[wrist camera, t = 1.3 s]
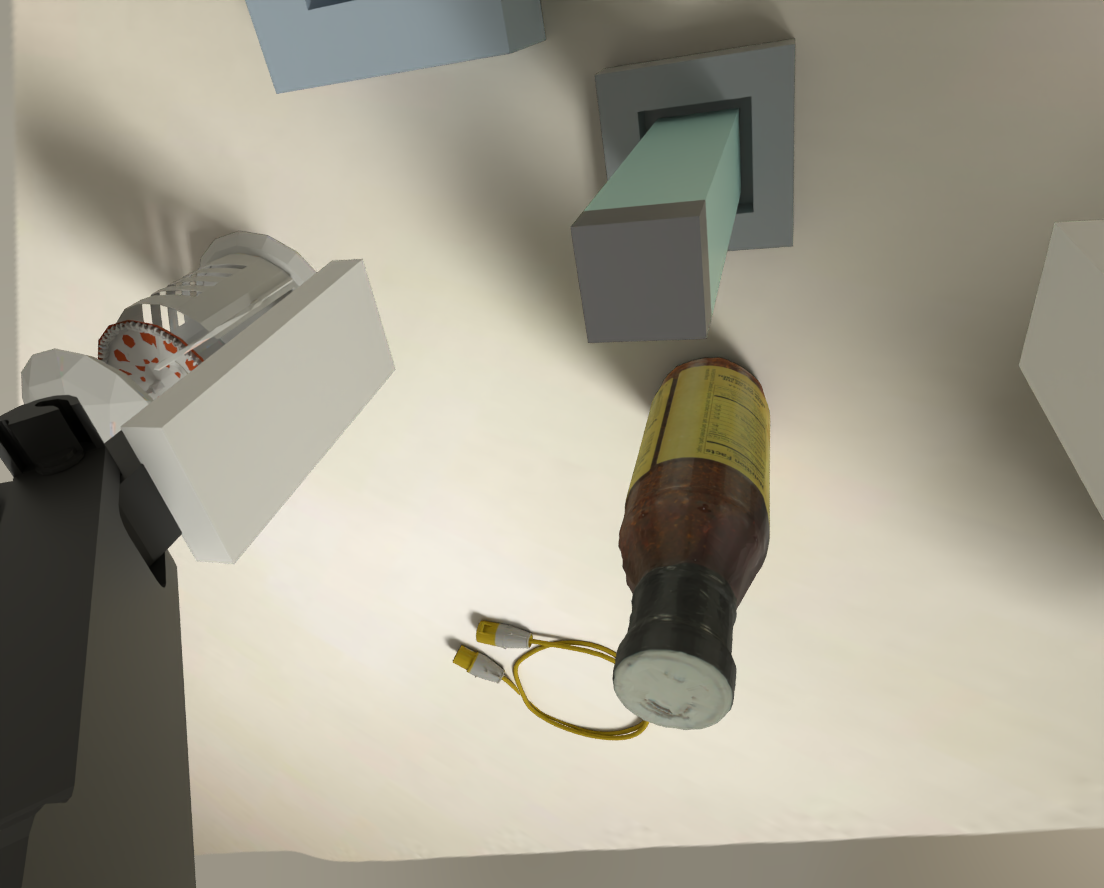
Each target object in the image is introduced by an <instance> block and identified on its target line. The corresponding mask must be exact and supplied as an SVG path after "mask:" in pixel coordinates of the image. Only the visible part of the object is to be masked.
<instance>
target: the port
mask: <svg viewBox="0 0 1104 888" xmlns="http://www.w3.org/2000/svg"><path fill="white" fill-rule="evenodd" d="M245 1H246V4H247V7H248V10H249V13H250V16H251V19H252V22H253V25H254V28H255V31H256V34H257V37H258V40H259V43H260V46H261V49H262V52H263V55H264V58H265V61H266V64H267V67H268V70H269V73H270V76H271V79H272V82H273V85H274V88H275V91H276V94H279V93H284V92H290V91H296V90H302V89H308V88H313V87H319V86H325V85H331V84H337V83H342V82H348V81H354V80H360V79H366V78H371V77H377V76H383V75H389V74H395V73H400V72H406V71H412V70H418V69H424V68H429V67H435V66H441V65H447V64H452V63H458V62H464V61H470V60H476V59H481V58H487V57H493V56H499V55H505V54H510V53H513V52H515V51H518V50H521V49H523V48H526V47H528V46H531V45H534V44H536V43H539V42H541V41H544V40H546V37H545V30H544V24H543V17H542V11H541V4H540V0H245Z"/></svg>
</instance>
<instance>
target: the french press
mask: <svg viewBox="0 0 1104 888" xmlns="http://www.w3.org/2000/svg"><path fill="white" fill-rule="evenodd" d="M195 273H197V277H191V275H192V274H195ZM316 273H317V272H316V271H315V270H314V269H313V268H312V267H311V266H310V265H309V264H308V263H307V262H306V261H305V260H304V259H303V258H302V257H301V256H300V254H299V253H298V252H296V251H294V250H293V249H291V248H289V247H287V246H286V245H284V244H282V243H280V242H279V241H277V240H275V239H273V238H271V237H270V236H268V235H261V234H255V233H249V232H242V231H237V232H234V233H232V234H229V235H226V236H223V237H220V238H217V239H215V240H214V241H213V243H212V244H211V245H210V247H209V248H208V249H207V251H206V252H205V253H204V254H203V256H202V257H201V261H200V268H199V269H198V270H197V271H194V272H191V273H189V274H188V275H186V276H184V277H183V279H180V280H177V281H175V282H173V283H171V284H170V285H168V286H167V287H166V288H164V289H161V290H158V291H157V292H155V293H153V294H152V295H151V297H148V298H145V299H142V300H140V301H138V302H136V303H134V304H133V305H131V306H129V307H128V308H126V309H124V311H123V313H122V314H121V316H120V318H119V319H118V321H117V323H116V324H112V325H109V326H108V327H107V329H106V330H105V332H104V333H103V335H102V336H101V337H100V339H99V340H98V359H97V358H95V357H92V356H88V355H83V354H79V353H74V352H69V351H64V350H59V349H51V350H48V351H44V352H41V353H37V354H34V355H32V356H31V358H30V359H29V361H28V363H27V364H26V366H25V367H24V369H23V370H22V372H21V379H22V399H23V402H24V404H27V403H29V402H32V401H35V400H38V399H42V398H46V397H51V396H56V395H71V396H75V397H77V398H78V400H79V401H80V403H81V405H82V406H83V408H84V410H85V411H86V413H87V415H88V416H89V418H90V420H91V421H92V423H93V425H94V427H95V428H96V430H97V432H98V433H99V435H100V437H101V438H102V440H103V442H104V443H105V442H107V441H108V440H109V439H110V438H112V437H113V436H114V435H115V434H117V433H118V432H119V431H121V428H120V427H121V426H122V425H123V424H124V423H126V422H127V421H128V420H130V419H131V418H132V417H133V416H135V415H136V414H137V413H138V412H140V411H141V410H142V409H144V408H145V407H146V406H147V405H149V404H150V403H151V402H152V401H154V400H155V399H156V398H158V397H159V396H160V395H161V394H163V393H164V392H165V391H166V390H168V389H169V388H170V387H172V386H173V385H174V384H175V383H177V382H178V381H179V380H181V379H182V378H183V377H184V376H186V375H187V374H188V373H189V372H191V371H192V370H193V369H195V368H196V367H197V366H198V365H200V364H201V363H202V362H203V361H205V360H206V359H207V358H209V357H210V356H211V355H212V354H214V353H215V352H216V351H218V350H219V349H220V348H221V347H223V346H224V345H225V344H226V343H228V342H229V341H230V340H232V339H233V338H234V337H235V336H237V335H238V334H239V333H240V332H242V331H243V330H244V329H246V328H247V327H248V326H249V325H251V324H252V323H253V322H254V321H256V320H257V319H258V318H260V317H261V316H262V315H263V314H265V313H266V312H267V311H269V310H270V309H271V308H272V307H274V306H275V305H276V304H277V303H279V302H280V301H281V300H283V299H284V298H285V297H286V296H288V295H289V294H290V293H291V292H293V291H294V290H295V289H297V288H298V287H299V286H300V285H302V284H303V283H304V282H305V281H307V280H308V279H309V278H311V277H312V276H313V275H314V274H316ZM190 281H196V285H190ZM178 282H182V286H176V283H178ZM161 291H166V295H160V292H161ZM175 291H182V295H175ZM190 291H196V292H197V296H190ZM142 304H150V305H151V314H152V322H153V324H150V323H145V322H144V320H143V312H142ZM160 305H163V306H166V307H168V316H169V325H170V332H169V331H167V330H166V329H164V328H162V320H161V311H160ZM177 311H179V312H181V313H183V314H184V319H185V323H184V324H183V325H181V326H178V318H177Z"/></svg>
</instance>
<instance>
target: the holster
mask: <svg viewBox="0 0 1104 888" xmlns="http://www.w3.org/2000/svg"><path fill="white" fill-rule="evenodd" d="M595 81H596V89H597V98H598V106H599V114H600V122H601V130H602V139H603V147H604V155H605V163H606V171H607V180H609V179H610V178H611V176H612V175H613V174H614V173H615V171H616V170H617V169H618V168H619V166H620V165H621V164H622V163H623V161H624V160H625V159H626V158H627V156H628V155H629V154H630V153H631V151H632V150H633V149H634V148H635V146H636V145H637V144H638V143H639V141H640V140H641V139H642V138H643V136H644V135H645V134H646V133H647V131H648V130H649V129H650V128H651V127H652V125H653V124H654V123H655V122H656V120H657V119H658V118H665V117H672V116H680V115H687V114H695V113H702V112H710V111H718V110H725V109H733V108H739V123H740V160H741V194H740V199H739V203H738V207H737V211H736V216H735V220H734V224H733V228H732V233H731V237H730V241H729V245H728V250H727V251H735V250H749V249H763V248H777V247H791V246H793V189H794V90H795V39H788V40H782V41H776V42H769V43H763V44H757V45H751V46H744V47H738V48H732V49H725V50H719V51H713V52H706V53H700V54H694V55H687V56H681V57H675V58H668V59H662V60H656V61H650V62H643V63H637V64H631V65H624V66H618V67H612V68H605V69H603V70H602V71H600V72H599V73H597V74H596V75H595Z"/></svg>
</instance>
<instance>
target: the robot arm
mask: <svg viewBox="0 0 1104 888" xmlns="http://www.w3.org/2000/svg"><path fill="white" fill-rule="evenodd" d="M1019 367H1020V369H1021V371H1022V373H1023V375H1024V376H1025V378H1026V380H1027V382H1028V384H1029V386H1030V387H1031V389H1032V391H1033V393H1034V395H1035V397H1036V398H1037V400H1038V402H1039V404H1040V406H1041V407H1042V409H1043V411H1044V413H1045V415H1046V417H1047V418H1048V420H1049V422H1050V424H1051V426H1052V428H1053V429H1054V431H1055V433H1056V435H1057V437H1058V438H1059V440H1060V442H1061V444H1062V446H1063V448H1064V449H1065V451H1066V453H1067V455H1068V457H1069V458H1070V460H1071V462H1072V464H1073V466H1074V468H1075V469H1076V471H1077V473H1078V475H1079V477H1080V479H1081V480H1082V482H1083V484H1084V486H1085V488H1086V489H1087V491H1088V493H1089V495H1090V497H1091V499H1092V500H1093V502H1094V504H1095V506H1096V508H1097V510H1098V511H1099V513H1100V515H1101V517H1102V519H1103V520H1104V219H1103V220H1084V221H1065V222H1055V223H1054V227H1053V231H1052V235H1051V239H1050V243H1049V247H1048V251H1047V255H1046V259H1045V263H1044V267H1043V271H1042V275H1041V279H1040V283H1039V287H1038V291H1037V295H1036V299H1035V303H1034V307H1033V311H1032V315H1031V319H1030V323H1029V327H1028V331H1027V335H1026V339H1025V343H1024V347H1023V351H1022V355H1021V359H1020V363H1019ZM395 370H396V369H395V366H394V362H393V359H392V355H391V352H390V349H389V345H388V342H387V339H386V335H385V332H384V329H383V325H382V322H381V319H380V315H379V312H378V308H377V305H376V302H375V298H374V295H373V292H372V288H371V285H370V282H369V278H368V275H367V272H366V268H365V265H364V261H363V259H354V260H335V261H331V262H330V263H328V264H327V265H326V266H325V267H323V268H322V269H321V270H320V271H318V272H317V273H316V274H314V275H313V276H312V277H311V278H309V279H308V280H307V281H305V282H304V283H303V284H302V285H300V286H299V287H298V288H297V289H295V290H294V291H293V292H291V293H290V294H289V295H288V296H286V297H285V298H284V299H283V300H281V301H280V302H279V303H277V304H276V305H275V306H274V307H272V308H271V309H270V310H269V311H267V312H266V313H265V314H263V315H262V316H261V317H260V318H258V319H257V320H256V321H254V322H253V323H252V324H251V325H249V326H248V327H247V328H246V329H244V330H243V331H242V332H240V333H239V334H238V335H237V336H235V337H234V338H233V339H232V340H230V341H229V342H228V343H226V344H225V345H224V346H223V347H221V348H220V349H219V350H218V351H216V352H215V353H214V354H212V355H211V356H210V357H209V358H207V359H206V360H205V361H203V362H202V363H201V364H200V365H198V366H197V367H196V368H195V369H193V370H192V371H191V372H189V373H188V374H187V375H186V376H184V377H183V378H182V379H181V380H179V381H178V382H177V383H175V384H174V385H173V386H172V387H170V388H169V389H168V390H166V391H165V392H164V393H163V394H161V395H160V396H159V397H158V398H156V399H155V400H154V401H152V402H151V403H150V404H149V405H147V406H146V407H145V408H144V409H142V410H141V411H140V412H138V413H137V414H136V415H135V416H133V417H132V418H131V419H130V420H128V421H127V422H126V423H124V424H123V425H122V426H121V427H120V428H121V431H119V432H118V433H117V434H115V435H114V436H113V437H112V438H110V439H109V440H108V441H107V442H105V443H104V442H103V440H102V438H101V437H100V435H99V433H98V432H97V430H96V428H95V427H94V425H93V423H92V421H91V420H90V418H89V416H88V415H87V413H86V411H85V410H84V408H83V406H82V405H81V403H80V401H79V400H78V398H77V397H75V396H71V395H56V396H51V397H46V398H42V399H38V400H35V401H32V402H29V403H27V404H24V405H21V406H19V407H17V408H15V409H13V410H11V411H9V412H7V413H5V414H3V415H1V416H0V458H1V460H2V461H3V462H4V464H5V465H6V467H7V468H8V469H9V471H10V472H11V474H12V475H13V477H14V478H13V481H11V482H5V483H0V888H196V880H195V863H194V846H193V829H192V813H191V796H190V779H189V762H188V745H187V729H186V712H185V695H184V678H183V662H182V645H181V628H180V611H179V594H178V578H177V566H176V564H175V562H174V560H173V558H172V556H171V555H170V553H169V551H168V550H167V549H168V548H169V547H170V546H171V545H172V544H173V543H174V542H175V541H176V539H177V538H178V537H179V536H180V535H182V537H183V538H184V540H185V542H186V544H187V545H188V547H189V549H190V551H191V552H192V554H193V556H194V558H195V559H196V561H200V562H212V563H224V564H235V563H236V561H237V560H238V559H239V558H240V557H241V555H242V554H243V553H244V552H245V551H246V549H247V548H248V547H249V546H250V545H251V543H252V542H253V541H254V540H255V538H256V537H257V536H258V535H259V534H260V532H261V531H262V530H263V529H264V528H265V526H266V525H267V524H268V523H269V522H270V520H271V519H272V518H273V517H274V516H275V514H276V513H277V512H278V511H279V510H280V508H281V507H282V506H283V505H284V503H285V502H286V501H287V500H288V499H289V497H290V496H291V495H292V494H293V493H294V491H295V490H296V489H297V488H298V487H299V485H300V484H301V483H302V482H303V481H304V479H305V478H306V477H307V476H308V475H309V473H310V472H311V471H312V470H313V469H314V467H315V466H316V465H317V464H318V462H319V461H320V460H321V459H322V458H323V456H324V455H325V454H326V453H327V452H328V450H329V449H330V448H331V447H332V446H333V444H334V443H335V442H336V441H337V440H338V438H339V437H340V436H341V435H342V434H343V432H344V431H345V430H346V429H347V428H348V426H349V425H350V424H351V423H352V421H353V420H354V419H355V418H356V417H357V415H358V414H359V413H360V412H361V411H362V409H363V408H364V407H365V406H366V405H367V403H368V402H369V401H370V400H371V399H372V397H373V396H374V395H375V394H376V393H377V391H378V390H379V389H380V388H381V387H382V385H383V384H384V383H385V382H386V380H387V379H388V378H389V377H390V376H391V374H392V373H393V372H394V371H395Z"/></svg>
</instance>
